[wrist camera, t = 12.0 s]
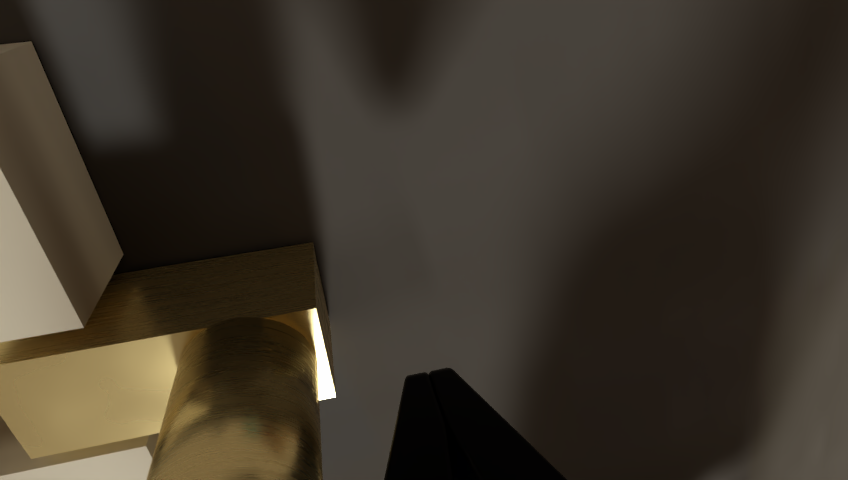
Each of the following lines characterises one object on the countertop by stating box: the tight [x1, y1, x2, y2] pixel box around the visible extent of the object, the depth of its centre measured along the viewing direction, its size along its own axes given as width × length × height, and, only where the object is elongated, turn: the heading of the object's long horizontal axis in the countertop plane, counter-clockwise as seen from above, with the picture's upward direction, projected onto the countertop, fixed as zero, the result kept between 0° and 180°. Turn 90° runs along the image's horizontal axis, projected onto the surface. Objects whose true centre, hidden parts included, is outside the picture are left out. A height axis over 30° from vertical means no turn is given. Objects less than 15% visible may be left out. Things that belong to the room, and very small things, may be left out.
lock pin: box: [0, 242, 336, 480], centre depth 10 cm, size 6×3×6 cm, turn 94°
